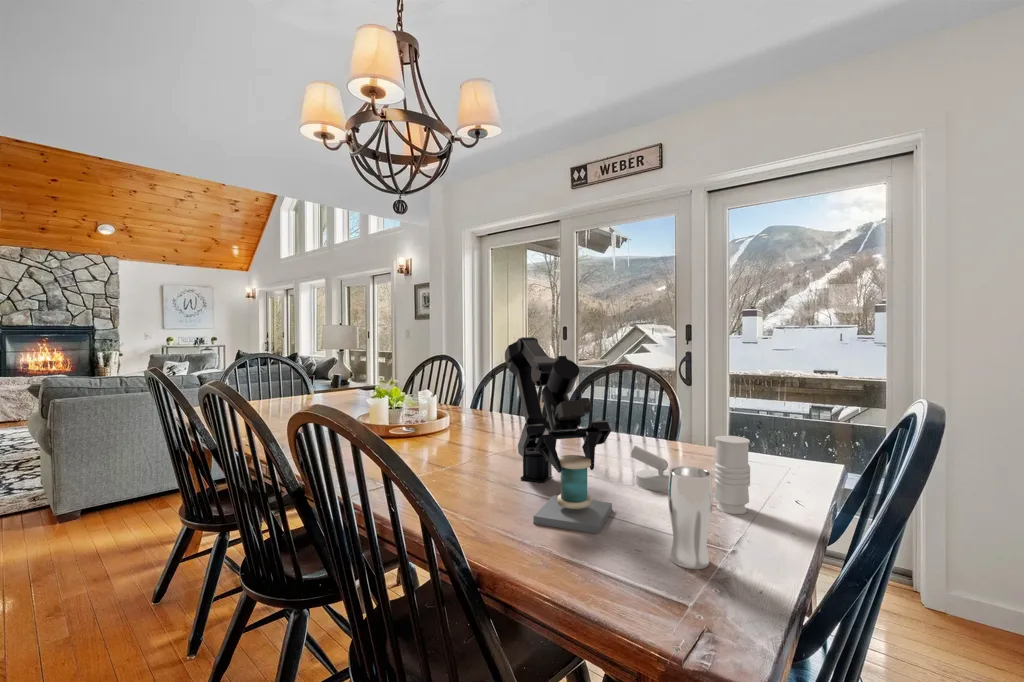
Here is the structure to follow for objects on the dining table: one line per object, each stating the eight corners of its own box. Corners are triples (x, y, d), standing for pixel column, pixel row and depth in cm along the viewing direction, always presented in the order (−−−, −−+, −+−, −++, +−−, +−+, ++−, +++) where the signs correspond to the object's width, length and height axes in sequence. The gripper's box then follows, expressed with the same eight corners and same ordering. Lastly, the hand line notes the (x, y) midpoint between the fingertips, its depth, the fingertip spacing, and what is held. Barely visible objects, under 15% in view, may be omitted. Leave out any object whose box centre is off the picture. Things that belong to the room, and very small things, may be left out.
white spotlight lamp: (629, 441, 126) (670, 443, 124) (629, 478, 126) (670, 480, 124) (631, 449, 117) (674, 451, 115) (630, 489, 118) (674, 491, 116)
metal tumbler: (661, 552, 85) (661, 466, 84) (699, 550, 85) (700, 465, 85) (678, 572, 78) (678, 478, 77) (720, 570, 78) (721, 477, 78)
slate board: (533, 523, 97) (533, 515, 97) (553, 501, 109) (553, 495, 109) (598, 534, 92) (598, 526, 92) (612, 510, 104) (612, 503, 104)
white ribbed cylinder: (754, 515, 101) (754, 443, 100) (718, 513, 102) (718, 442, 101) (744, 503, 107) (745, 436, 107) (711, 501, 109) (711, 434, 108)
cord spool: (550, 502, 101) (550, 459, 100) (571, 494, 105) (571, 453, 105) (576, 511, 96) (576, 466, 96) (597, 502, 101) (597, 459, 100)
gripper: (524, 386, 101) (540, 452, 91) (607, 383, 106) (632, 446, 96) (515, 417, 109) (529, 481, 99) (593, 413, 114) (613, 474, 104)
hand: (576, 470), depth 99 cm, fingers closed on cord spool, 7 cm apart
